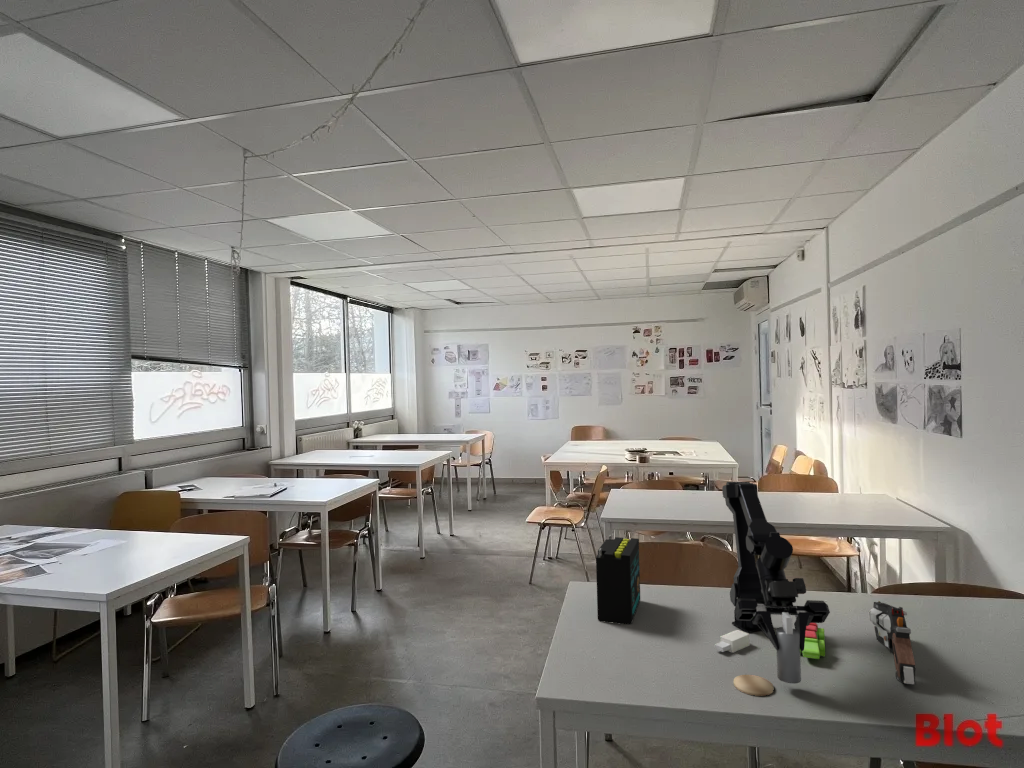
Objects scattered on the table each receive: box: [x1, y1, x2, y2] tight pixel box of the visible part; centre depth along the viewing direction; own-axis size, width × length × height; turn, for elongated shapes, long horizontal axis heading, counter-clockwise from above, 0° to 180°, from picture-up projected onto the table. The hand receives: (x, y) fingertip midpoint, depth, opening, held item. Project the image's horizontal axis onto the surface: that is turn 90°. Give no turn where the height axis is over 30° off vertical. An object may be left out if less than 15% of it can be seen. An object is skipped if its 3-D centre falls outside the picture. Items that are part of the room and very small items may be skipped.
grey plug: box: [775, 612, 802, 685], centre depth 124 cm, size 5×5×14 cm
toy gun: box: [868, 600, 917, 685], centre depth 136 cm, size 5×28×15 cm, turn 158°
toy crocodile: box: [800, 623, 826, 660], centre depth 143 cm, size 20×7×6 cm, turn 152°
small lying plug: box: [713, 629, 751, 654], centre depth 144 cm, size 10×4×3 cm, turn 124°
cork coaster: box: [733, 674, 775, 697], centre depth 125 cm, size 8×8×1 cm
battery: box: [595, 534, 641, 625], centre depth 171 cm, size 19×10×20 cm, turn 160°
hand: (790, 650), depth 122 cm, fingers closed on grey plug, 5 cm apart
